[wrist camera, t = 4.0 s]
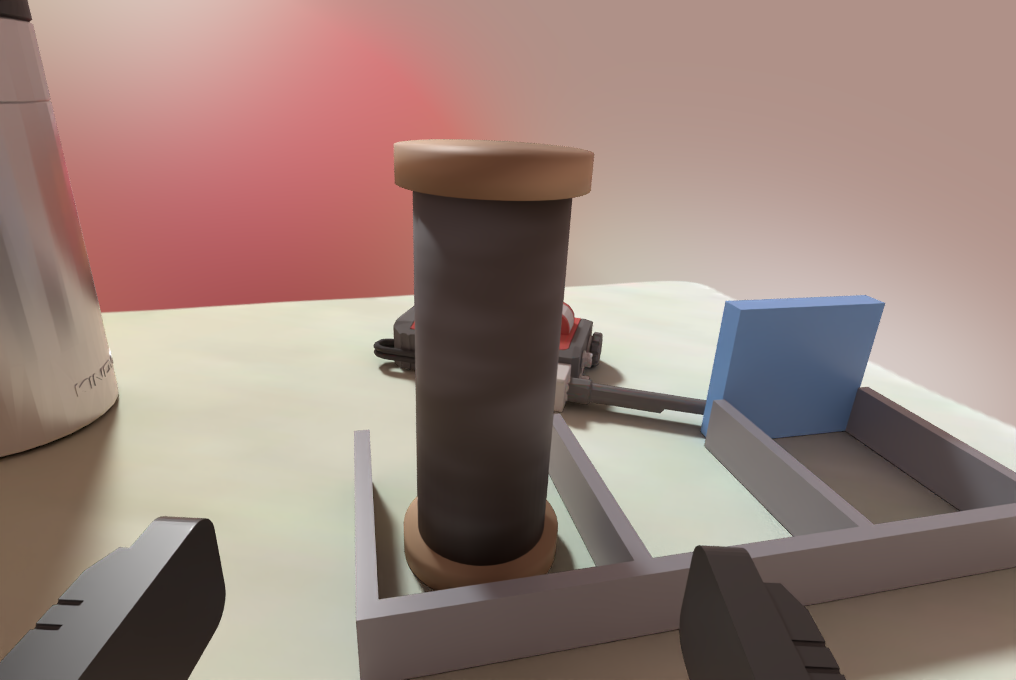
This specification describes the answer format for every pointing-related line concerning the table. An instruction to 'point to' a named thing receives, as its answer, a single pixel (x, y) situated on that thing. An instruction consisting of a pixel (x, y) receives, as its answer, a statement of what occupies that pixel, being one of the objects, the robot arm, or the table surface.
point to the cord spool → (486, 351)
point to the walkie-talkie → (573, 359)
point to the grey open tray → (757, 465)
